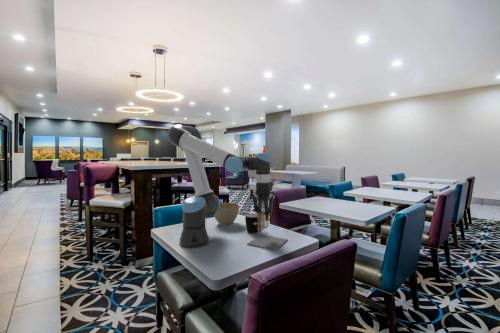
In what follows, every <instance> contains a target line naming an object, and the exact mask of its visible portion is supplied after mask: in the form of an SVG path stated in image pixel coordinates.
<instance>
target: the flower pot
mask: <svg viewBox="0 0 500 333" xmlns="http://www.w3.org/2000/svg"><path fill="white" fill-rule="evenodd" d="M239 211H240V205H239V204H238V203H232V202H222V203H221V202H220V208H219V210H218V211H217V212H216V213H215V214H214V215H213V216H214V219H215V220H216V222H217V223H218V224H219V225H220V226H230V225H233V223H234V222H235V220H236V219H237V217H238V215H239Z"/></svg>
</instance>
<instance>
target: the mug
mask: <svg viewBox="0 0 500 333" xmlns="http://www.w3.org/2000/svg"><path fill="white" fill-rule="evenodd" d="M244 220H245V228H246V231H247V233H248V234H257V233H258V232H259V231H258V213H256V212H255V213H254V212H253V213H251V212H249V213H245V219H244Z"/></svg>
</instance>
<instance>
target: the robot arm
mask: <svg viewBox="0 0 500 333" xmlns="http://www.w3.org/2000/svg"><path fill="white" fill-rule="evenodd" d="M202 137H203V136H202V133H201V131H200V130H199V129H198V128H197V127H194V126H191V125H183V124H173V125H172V126H171V127H170V128H169V129H168V131H167V138H168V141H169V142H170V143H171V144H172V145H174V146H176V147H178V148H180V151H181V152H182V153H184V156H185V160H186V163H187V166H188V170H189V174H190V177H191V181H192V185H193V190H194V192H195V194H194V195H193V196H192V197H191V196H190V197H188V198H185V199H184V200H183V201H182V208H181V210H182V230H181V233H180V238H179V245H180V246H182V247H183V248H199V247H204V246H206V245H208V244H209V242H210V237H209V235H208V232H207V231H208V230H207V228H206V219H207V218H210V217H211V216H214V214H215V213H216V212H217V211H218V210H219V208H220V203H221V202H220V198H219V197H218V196H217V195H216V194H215V192H214V190H213V189H211V187H210V183H209V180H208V176H207V172H206V169H205V165H204V162H203V158H205V159H207V160H209V161H210V162H213V163H215V164H217V165H218V166H221V167H223V168H225V169H226V171H227V172H229V173H231V174H237V173H240V172H245V171H251V172H252V171H255V181H256V182H255V189H256V190H255V192H253V193H251V195H250V196H251V197H252V204H253V210H254V212H255V213H256V214H258V213H260V212H262V211H263V208H264V210H265V214H264V227H266V226H267V220H268V221H270V220H269V219H270V217H269V216H270V214H272V213H273V209H274V201H275V198H276V195H275V194H272V192H271V183H270V181H271V154H270V153H269V152H256V153H255V155H254V156H243V155H241V156H237V155H234V154H232V153H231V152H228V151H226V150H225V149H222V148H220V147H218V146H215V145H213V144H211V143H209V142H207V141H205V140H202V139H203V138H202ZM263 205H264V207H263ZM262 207H263V208H262Z"/></svg>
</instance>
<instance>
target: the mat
mask: <svg viewBox="0 0 500 333" xmlns="http://www.w3.org/2000/svg"><path fill="white" fill-rule="evenodd" d="M287 242H288V239H287V238H282V237H276V236H272V235H266V234H260V235H258V236H257V237H255V238H253V239H252V240H250V241H249V242H247V243H246V244H247V246H252V247H256V248H260V247H261V248H260V249H265V248H266V250H270V251H274V250H275V251H276V252H277V250H278V249H280V248H281V247H282V246H283V245H284V244H285V243H287ZM280 246H281V247H280ZM279 247H280V248H279ZM275 251H274V252H275Z"/></svg>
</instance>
